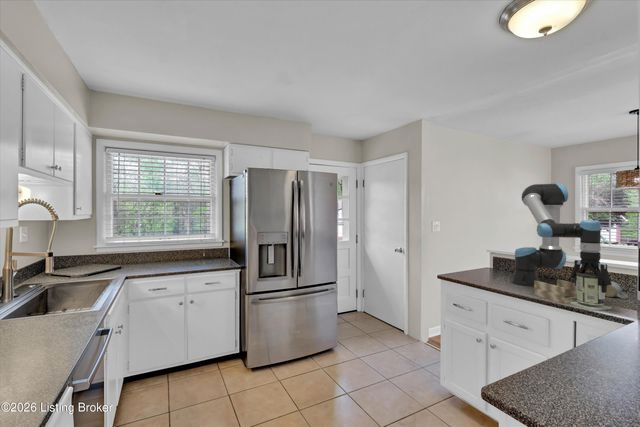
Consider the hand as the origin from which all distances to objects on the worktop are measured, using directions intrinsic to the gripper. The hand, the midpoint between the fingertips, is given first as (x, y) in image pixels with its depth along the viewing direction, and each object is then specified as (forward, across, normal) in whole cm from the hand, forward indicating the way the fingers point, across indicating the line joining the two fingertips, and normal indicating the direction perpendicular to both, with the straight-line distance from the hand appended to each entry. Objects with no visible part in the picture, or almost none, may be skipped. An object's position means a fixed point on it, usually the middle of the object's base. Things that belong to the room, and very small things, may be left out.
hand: (590, 295), depth 150 cm
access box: (+5, -14, -1) cm, 15 cm away
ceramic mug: (+6, -11, +30) cm, 32 cm away
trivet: (+5, 0, 0) cm, 5 cm away
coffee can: (+3, 0, 0) cm, 3 cm away
